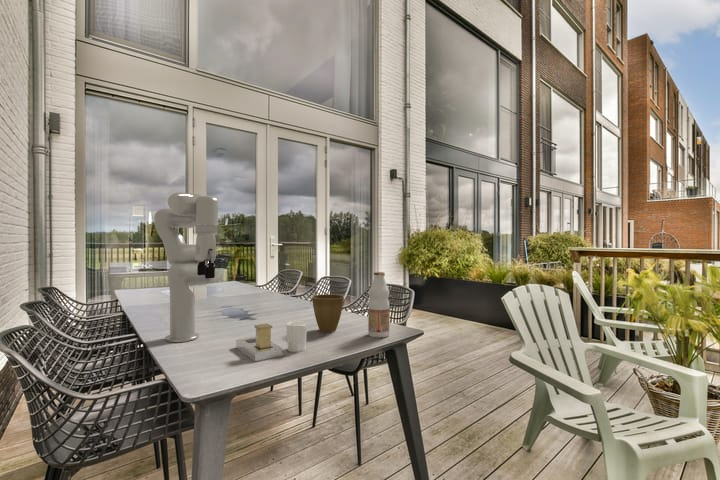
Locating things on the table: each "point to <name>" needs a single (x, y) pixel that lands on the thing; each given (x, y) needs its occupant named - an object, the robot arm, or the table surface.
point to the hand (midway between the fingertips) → (205, 276)
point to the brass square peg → (263, 336)
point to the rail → (257, 355)
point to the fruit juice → (378, 307)
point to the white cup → (296, 336)
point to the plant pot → (327, 311)
